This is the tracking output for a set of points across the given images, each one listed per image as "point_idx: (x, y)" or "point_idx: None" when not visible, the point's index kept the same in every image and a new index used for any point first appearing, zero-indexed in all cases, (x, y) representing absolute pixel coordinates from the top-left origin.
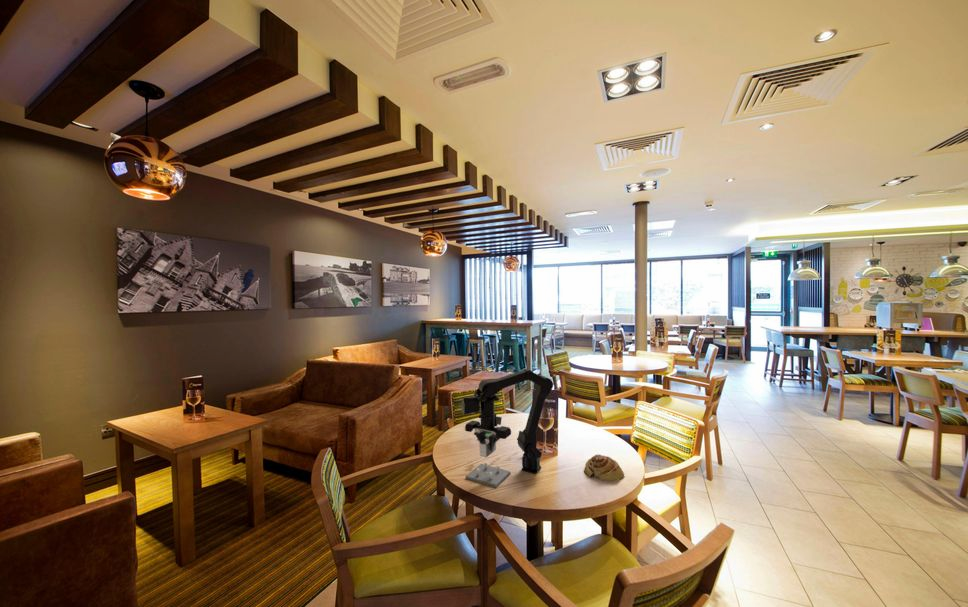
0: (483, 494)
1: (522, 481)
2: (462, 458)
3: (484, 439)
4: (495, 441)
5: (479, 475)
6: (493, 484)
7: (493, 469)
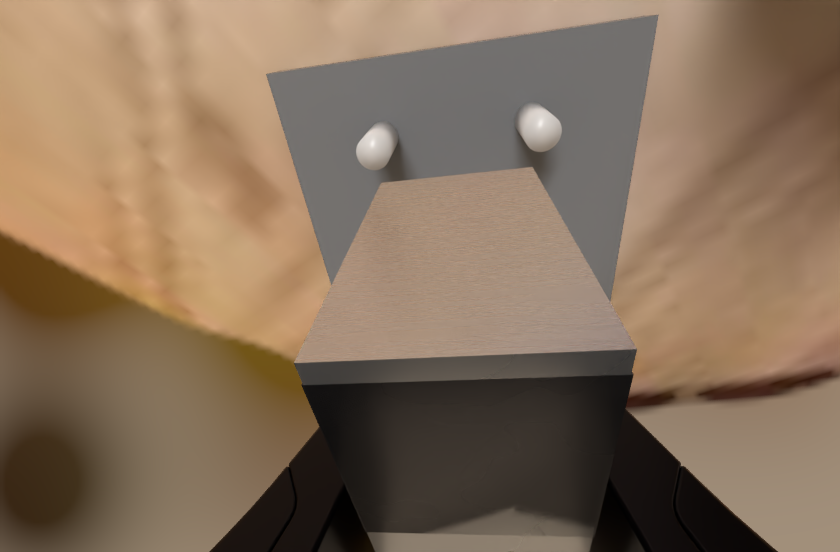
0: None
1: (824, 81)
2: (10, 55)
3: (352, 538)
4: (719, 512)
5: None
6: None
7: (459, 105)
